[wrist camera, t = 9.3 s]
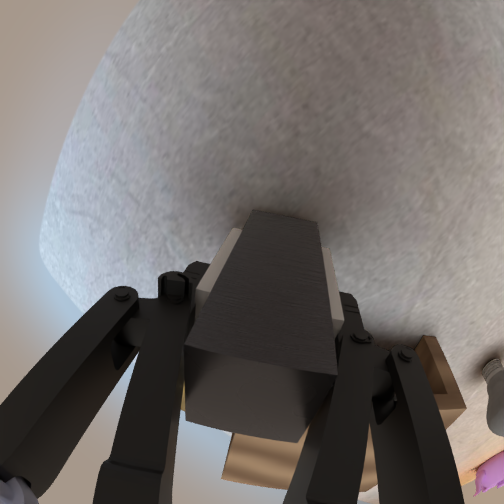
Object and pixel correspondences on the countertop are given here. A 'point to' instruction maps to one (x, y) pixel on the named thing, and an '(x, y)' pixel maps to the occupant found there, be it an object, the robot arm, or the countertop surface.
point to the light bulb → (495, 396)
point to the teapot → (490, 473)
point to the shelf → (286, 453)
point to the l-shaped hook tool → (264, 335)
